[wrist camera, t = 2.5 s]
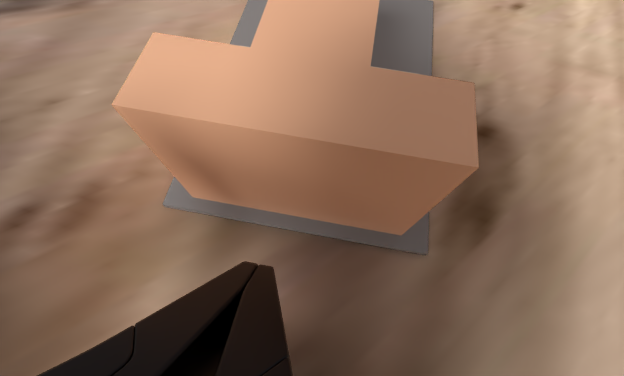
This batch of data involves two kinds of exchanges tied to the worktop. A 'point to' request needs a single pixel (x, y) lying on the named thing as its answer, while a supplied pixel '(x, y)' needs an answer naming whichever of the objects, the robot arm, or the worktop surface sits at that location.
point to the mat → (386, 54)
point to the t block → (304, 119)
